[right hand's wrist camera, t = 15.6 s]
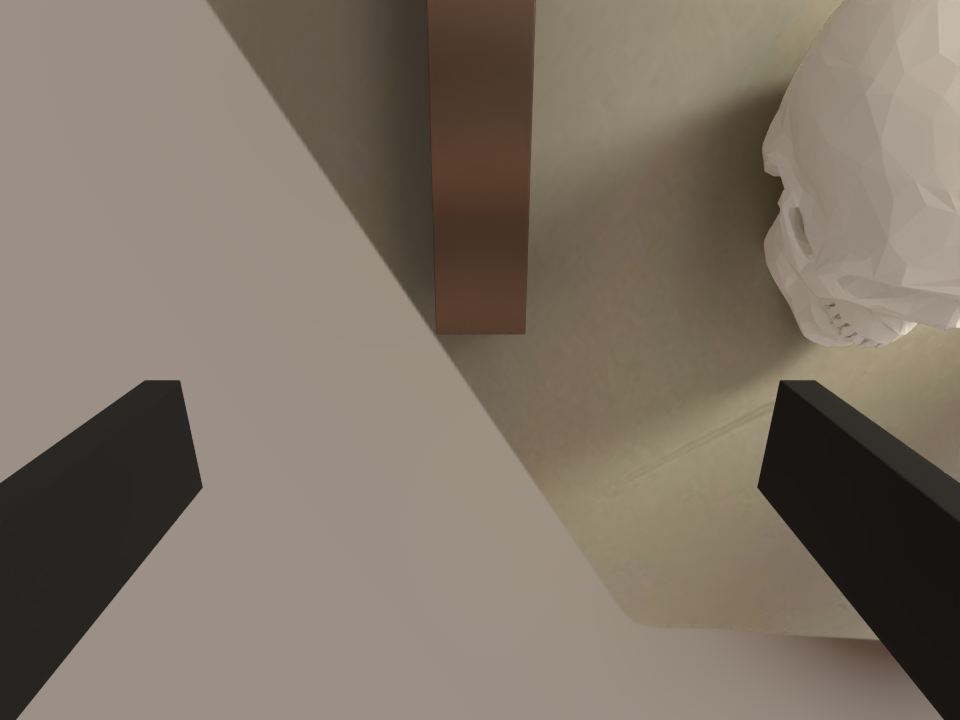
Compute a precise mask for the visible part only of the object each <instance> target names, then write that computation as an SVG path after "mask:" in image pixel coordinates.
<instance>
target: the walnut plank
mask: <svg viewBox="0 0 960 720" xmlns="http://www.w3.org/2000/svg"><path fill="white" fill-rule="evenodd" d="M535 9H536V0H427V33H428V67H429V101H430V135H431V170H432V204H433V238H434V273H435V307H436V333H437V334H525V324H526V292H527V261H528V229H529V198H530V166H531V135H532V103H533V72H534V40H535Z"/></svg>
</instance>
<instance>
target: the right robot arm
mask: <svg viewBox="0 0 960 720" xmlns="http://www.w3.org/2000/svg"><path fill="white" fill-rule="evenodd" d="M202 488H203V487H202V482H201V478H200V473H199V468H198V463H197V458H196V454H195V449H194V444H193V440H192V435H191V430H190V425H189V421H188V416H187V411H186V407H185V402H184V397H183V392H182V388H181V383H180V380H145V381H143V382H142V383H141V384H139V385H138V386H136V387H135V388H134V389H132V390H131V391H129V392H128V393H127V394H125V395H124V396H122V397H121V398H120V399H118V400H117V401H115V402H114V403H112V404H111V405H110V406H108V407H107V408H105V409H104V410H103V411H101V412H100V413H98V414H97V415H96V416H94V417H93V418H91V419H90V420H89V421H87V422H86V423H84V424H83V425H82V426H80V427H79V428H77V429H76V430H74V431H73V432H72V433H70V434H69V435H67V436H66V437H65V438H63V439H62V440H60V441H59V442H58V443H56V444H55V445H53V446H52V447H51V448H49V449H48V450H46V451H45V452H43V453H42V454H41V455H39V456H38V457H36V458H35V459H34V460H32V461H31V462H29V463H28V464H27V465H25V466H24V467H22V468H21V469H20V470H18V471H17V472H15V473H14V474H12V475H11V476H10V477H8V478H7V479H5V480H4V481H3V482H1V483H0V720H16V719H17V718H18V717H19V715H20V714H21V713H22V712H23V710H24V709H25V708H26V707H27V705H28V704H29V703H30V702H31V700H32V699H33V698H34V697H35V695H36V694H37V693H38V692H39V690H40V689H41V688H42V687H43V685H44V684H45V683H46V682H47V680H48V679H49V678H50V677H51V675H52V674H53V673H54V672H55V670H56V669H57V668H58V667H59V666H60V664H61V663H62V662H63V660H64V659H65V658H66V657H67V656H68V654H69V653H70V652H71V651H72V649H73V648H74V647H75V646H76V644H77V643H78V642H79V641H80V639H81V638H82V637H83V636H84V634H85V633H86V632H87V631H88V629H89V628H90V627H91V626H92V624H93V623H94V622H95V621H96V620H97V618H98V617H99V616H100V615H101V613H102V612H103V611H104V609H105V608H106V607H107V606H108V605H109V603H110V602H111V601H112V600H113V598H114V597H115V596H116V595H117V593H118V592H119V591H120V590H121V588H122V587H123V586H124V585H125V583H126V582H127V581H128V580H129V578H130V577H131V576H132V575H133V573H134V572H135V571H136V570H137V569H138V567H139V566H140V565H141V564H142V562H143V561H144V560H145V559H146V557H147V556H148V555H149V554H150V552H151V551H152V550H153V549H154V547H155V546H156V545H157V544H158V542H159V541H160V540H161V539H162V537H163V536H164V535H165V534H166V532H167V531H168V530H169V529H170V527H171V526H172V525H173V524H174V522H175V521H176V520H177V519H178V518H179V516H180V515H181V514H182V513H183V511H184V510H185V509H186V508H187V506H188V505H189V504H190V503H191V501H192V500H193V499H194V498H195V496H196V495H197V494H198V493H199V491H200V490H201V489H202ZM757 488H758V489H759V490H760V491H761V493H762V494H763V495H764V496H765V498H766V499H767V500H768V501H769V503H770V504H771V505H772V506H773V508H774V509H775V510H776V511H777V513H778V514H779V515H780V516H781V518H782V519H783V520H784V521H785V522H786V524H787V525H788V526H789V527H790V529H791V530H792V531H793V532H794V534H795V535H796V536H797V537H798V539H799V540H800V541H801V542H802V544H803V545H804V546H805V547H806V549H807V550H808V551H809V552H810V554H811V555H812V556H813V557H814V559H815V560H816V561H817V562H818V564H819V565H820V566H821V567H822V569H823V570H824V571H825V572H826V573H827V575H828V576H829V577H830V578H831V580H832V581H833V582H834V583H835V585H836V586H837V587H838V588H839V590H840V591H841V592H842V593H843V595H844V596H845V597H846V598H847V600H848V601H849V602H850V603H851V605H852V606H853V607H854V608H855V610H856V611H857V612H858V613H859V615H860V616H861V617H862V618H863V620H864V621H865V622H866V623H867V624H868V626H869V627H870V628H871V629H872V631H873V632H874V633H875V634H876V636H877V637H878V638H879V639H880V641H881V642H882V643H883V644H884V646H885V647H886V648H887V649H888V651H889V652H890V653H891V654H892V656H893V657H894V658H895V659H896V661H897V662H898V663H899V664H900V666H901V667H902V668H903V669H904V670H905V672H906V673H907V674H908V675H909V677H910V678H911V679H912V680H913V682H914V683H915V684H916V685H917V687H918V688H919V689H920V690H921V692H922V693H923V694H924V695H925V697H926V698H927V699H928V700H929V702H930V703H931V704H932V705H933V707H934V708H935V709H936V710H937V712H938V713H939V714H940V715H941V717H942V718H943V719H944V720H960V483H959V482H957V481H956V480H955V479H953V478H952V477H950V476H949V475H948V474H946V473H945V472H943V471H942V470H940V469H939V468H938V467H936V466H935V465H933V464H932V463H931V462H929V461H928V460H926V459H925V458H924V457H922V456H921V455H919V454H918V453H917V452H915V451H914V450H912V449H911V448H909V447H908V446H907V445H905V444H904V443H902V442H901V441H900V440H898V439H897V438H895V437H894V436H893V435H891V434H890V433H888V432H887V431H886V430H884V429H883V428H881V427H880V426H879V425H877V424H876V423H874V422H873V421H871V420H870V419H869V418H867V417H866V416H864V415H863V414H862V413H860V412H859V411H857V410H856V409H855V408H853V407H852V406H850V405H849V404H848V403H846V402H845V401H843V400H842V399H841V398H839V397H838V396H836V395H835V394H833V393H832V392H831V391H829V390H828V389H826V388H825V387H824V386H822V385H821V384H819V383H818V382H817V381H815V380H780V383H779V388H778V392H777V397H776V402H775V407H774V411H773V416H772V421H771V425H770V430H769V435H768V440H767V444H766V449H765V454H764V458H763V463H762V468H761V473H760V477H759V482H758V487H757Z"/></svg>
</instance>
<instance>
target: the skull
mask: <svg viewBox="0 0 960 720" xmlns="http://www.w3.org/2000/svg"><path fill="white" fill-rule="evenodd" d="M762 155H763V161H764V171H765V172H767V173H768V174H770V175H772V176H781V179H782V182H783V185H784V189H785V190H783V192H782V194H781V197H780V199H779V201H778V205H779V207H780V213H779V214H778V216H777V218H776V220H775V222H774V223H773V225H772V227H771V228H770V229H769V231H768V233H767V235H766V237H765V240H764V252H765V259H766V264H767V266H768V268H769V271H770V273H771V275H772V278H773V279H774V281H775V283H776V284H777V286H778V288H779V289H780V291H781V292H782V294H783V296H784V297H785V299H786V301H787V302H788V304H789V306H790V308H791V310H792V312H793V314H794V317H795V319H796V321H797V323H798V326H799V328H800V330H801V332H802V334H803V335H804V336H805V337H806V338H807V339H809V340H810V341H812V342H814V343H817V344H819V345H822V346H825V347H828V348H829V347H843V346H847V345H851V344H853V343H855V344H859V345H858V346H857V348H865V347H874V346H875V348H879V347H882V346H885V345H888V344H890V343H892V342H894V341H895V340H897V339H899V338H901V337H902V336H904V335H906V334H907V333H908V332H909V331H910V330H911V329H912V328H913V327H914V326H916V325H917V324H918V323H921V324H925V325H929V326H932V327H936V328H940V329H943V330H948V329H955V328H960V0H845V1H844V2H843V3H842V4H841V5H840V6H839V7H838V8H837V9H836V10H835V11H834V12H833V14H832V15H831V16H830V18H829V19H828V20H827V22H826V23H825V25H824V26H823V27H822V29H821V30H820V32H819V33H818V34H817V36H816V37H815V39H814V41H813V42H812V44H811V46H810V48H809V49H808V51H807V53H806V55H805V56H804V58H803V60H802V62H801V63H800V65H799V67H798V69H797V70H796V72H795V74H794V75H793V77H792V80H791V82H790V84H789V86H788V88H787V90H786V93H785V95H784V97H783V99H782V102H781V105H780V108H779V110H778V111H777V113H776V115H775V117H774V119H773V121H772V123H771V124H770V127H769V129H768V132H767V135H766V137H765V140H764V142H763V146H762ZM803 223H804V229H803ZM830 305H835V306H832V307H829V306H830ZM837 314H839V315H840V317H837V318H835V316H836V315H837ZM860 343H861V344H860Z"/></svg>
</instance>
